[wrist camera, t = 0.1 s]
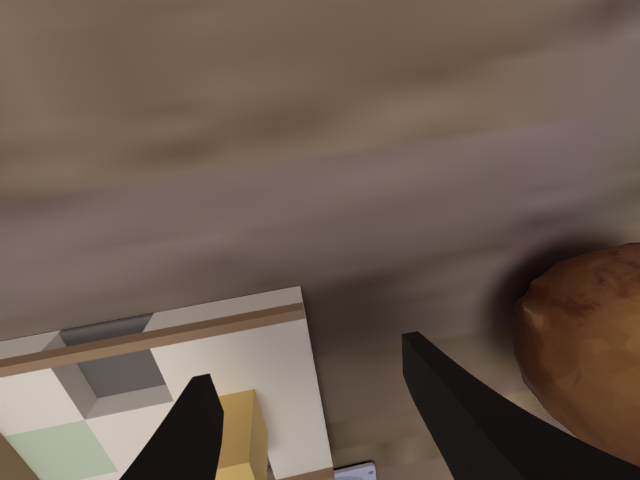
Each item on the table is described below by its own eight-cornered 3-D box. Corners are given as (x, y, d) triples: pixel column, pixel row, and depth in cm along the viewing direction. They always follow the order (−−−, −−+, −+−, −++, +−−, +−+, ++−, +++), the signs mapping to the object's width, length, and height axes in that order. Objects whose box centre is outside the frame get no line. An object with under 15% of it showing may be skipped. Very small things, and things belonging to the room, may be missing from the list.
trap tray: (330, 448, 29) (337, 495, 25) (85, 503, 27) (57, 561, 24) (300, 285, 21) (305, 319, 18) (-36, 348, 20) (-102, 398, 16)
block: (268, 434, 24) (266, 510, 19) (203, 448, 24) (186, 530, 19) (254, 388, 22) (248, 462, 17) (183, 403, 21) (158, 482, 17)
